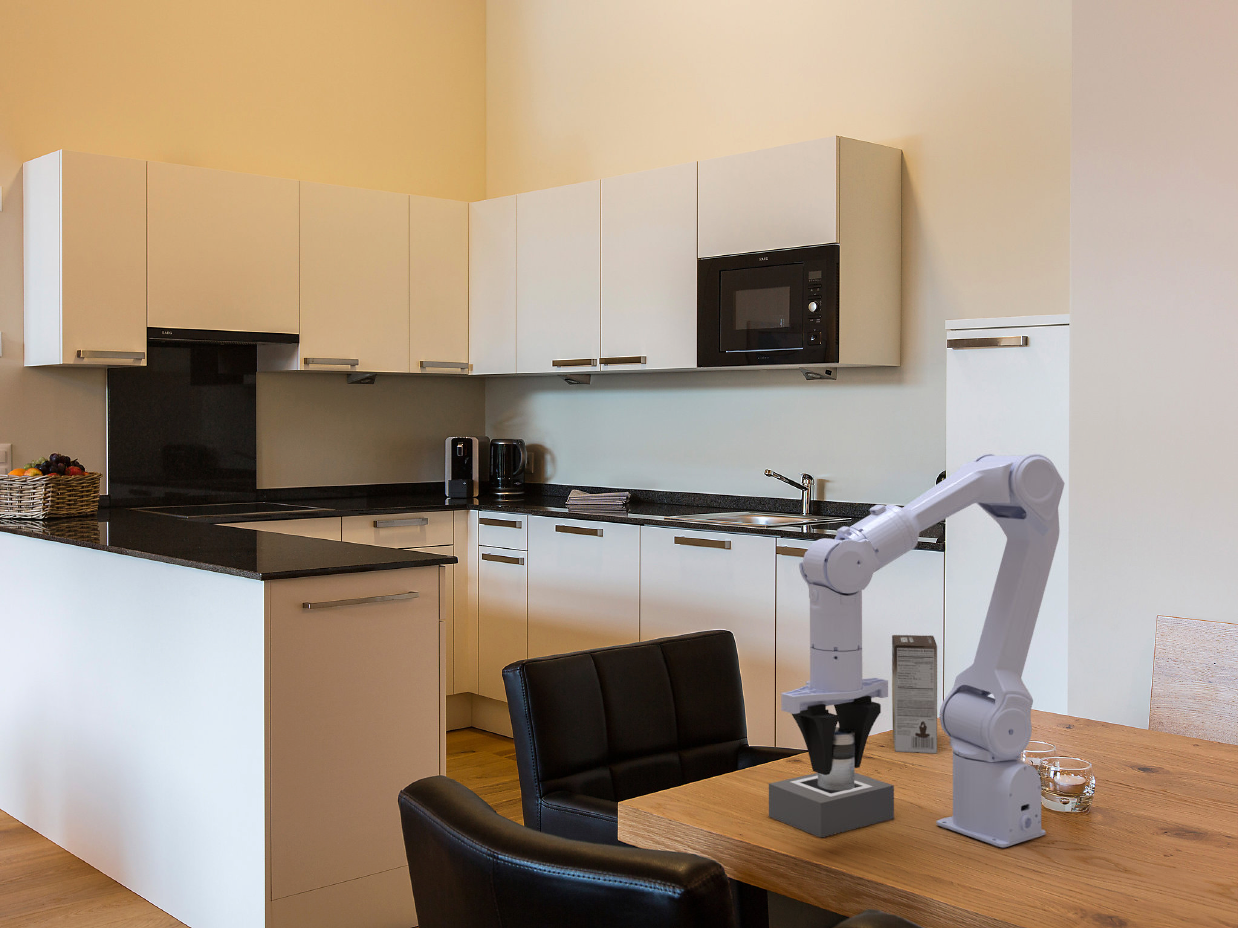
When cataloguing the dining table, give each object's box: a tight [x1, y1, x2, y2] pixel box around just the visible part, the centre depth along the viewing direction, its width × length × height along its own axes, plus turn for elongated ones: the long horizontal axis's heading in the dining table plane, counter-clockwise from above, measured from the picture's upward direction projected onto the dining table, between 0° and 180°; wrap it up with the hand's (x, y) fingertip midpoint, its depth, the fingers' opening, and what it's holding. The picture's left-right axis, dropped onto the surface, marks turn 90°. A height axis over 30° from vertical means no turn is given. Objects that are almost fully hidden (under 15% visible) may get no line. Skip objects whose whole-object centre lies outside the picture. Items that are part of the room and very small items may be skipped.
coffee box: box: [891, 634, 938, 754], centre depth 164 cm, size 9×6×16 cm
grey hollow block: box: [768, 772, 895, 838], centre depth 131 cm, size 9×12×4 cm
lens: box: [818, 726, 856, 791], centre depth 120 cm, size 4×4×6 cm
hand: (836, 768), depth 120 cm, fingers closed on lens, 4 cm apart
